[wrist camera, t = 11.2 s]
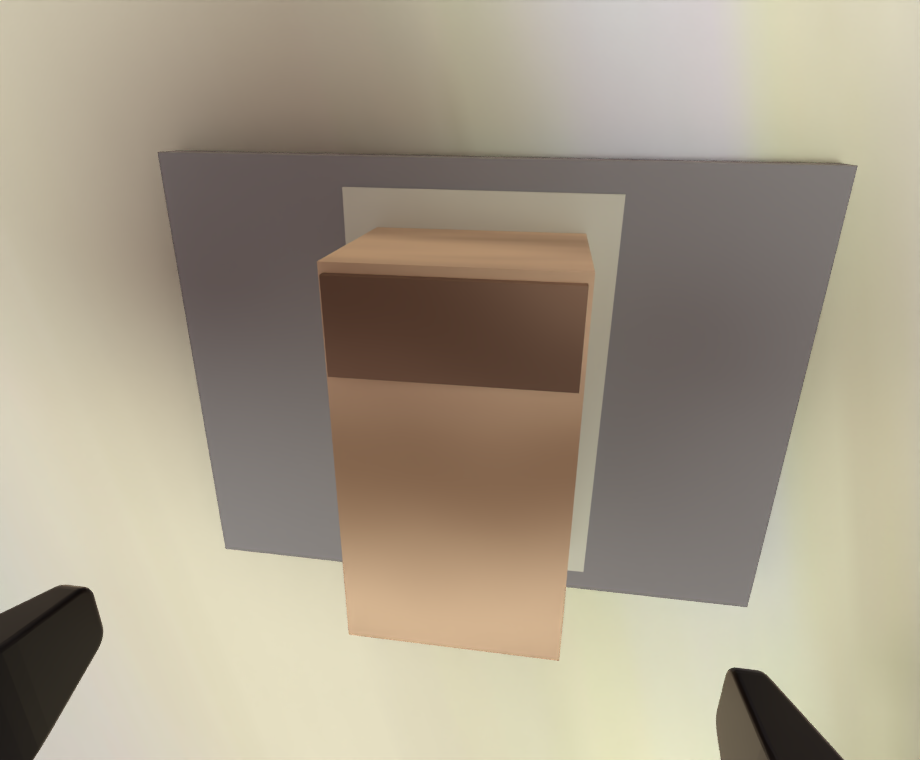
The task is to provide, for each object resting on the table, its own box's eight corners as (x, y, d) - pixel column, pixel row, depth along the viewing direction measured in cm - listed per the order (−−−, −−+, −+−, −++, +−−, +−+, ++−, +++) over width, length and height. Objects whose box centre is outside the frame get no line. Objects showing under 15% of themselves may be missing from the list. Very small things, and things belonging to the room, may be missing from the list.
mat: (841, 163, 14) (859, 165, 13) (739, 587, 18) (748, 609, 17) (176, 150, 16) (154, 152, 15) (237, 533, 20) (224, 550, 20)
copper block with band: (559, 549, 18) (558, 667, 14) (391, 532, 18) (346, 640, 14) (586, 233, 14) (596, 275, 10) (376, 227, 15) (312, 263, 11)
